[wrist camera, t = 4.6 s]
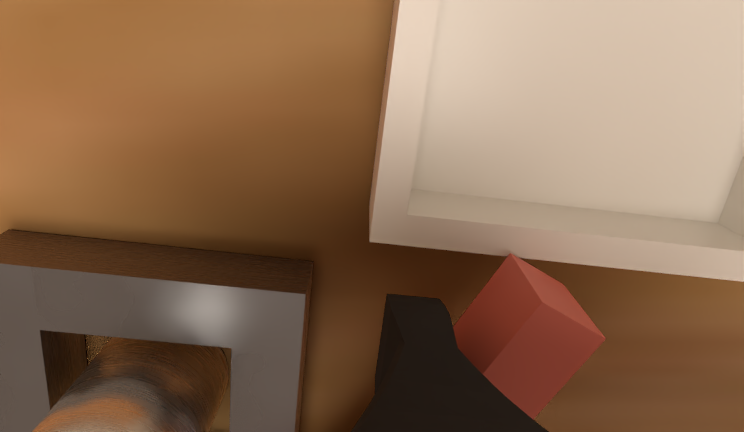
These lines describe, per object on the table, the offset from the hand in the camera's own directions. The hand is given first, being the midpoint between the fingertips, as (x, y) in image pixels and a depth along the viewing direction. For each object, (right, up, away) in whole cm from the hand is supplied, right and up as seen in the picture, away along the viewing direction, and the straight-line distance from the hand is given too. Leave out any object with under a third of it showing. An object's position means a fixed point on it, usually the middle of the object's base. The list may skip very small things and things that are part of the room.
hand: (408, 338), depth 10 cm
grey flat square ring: (-7, -2, +4) cm, 8 cm away
